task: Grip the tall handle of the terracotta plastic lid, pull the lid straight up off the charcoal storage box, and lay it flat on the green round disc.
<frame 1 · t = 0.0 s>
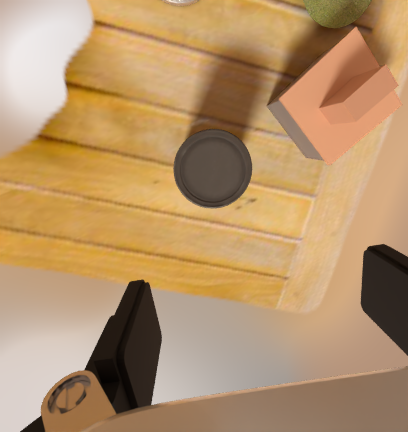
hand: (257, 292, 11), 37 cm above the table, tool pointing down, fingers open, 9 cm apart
lid: (339, 101, 36), point 8 cm above the table, touching storage box
coffee can: (207, 161, 46), on the table
storage box: (314, 108, 43), on the table
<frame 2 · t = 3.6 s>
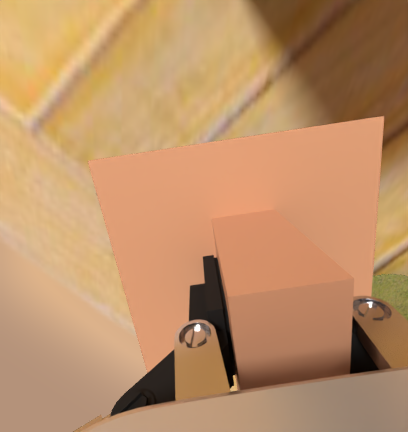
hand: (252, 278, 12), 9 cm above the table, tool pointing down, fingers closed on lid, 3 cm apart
lid: (246, 264, 13), point 8 cm above the table, touching gripper, storage box
green round disc: (360, 313, 24), on the table
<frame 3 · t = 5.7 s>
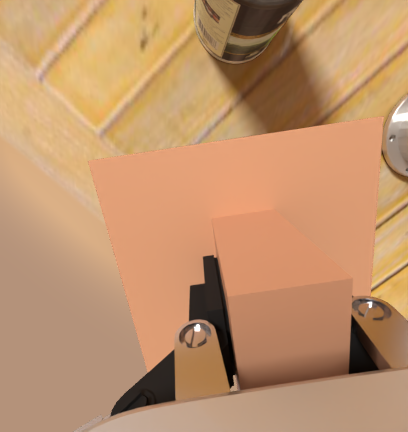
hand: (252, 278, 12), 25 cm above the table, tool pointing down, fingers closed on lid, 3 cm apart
lid: (245, 263, 13), point 23 cm above the table, touching gripper
coffee can: (235, 16, 30), on the table
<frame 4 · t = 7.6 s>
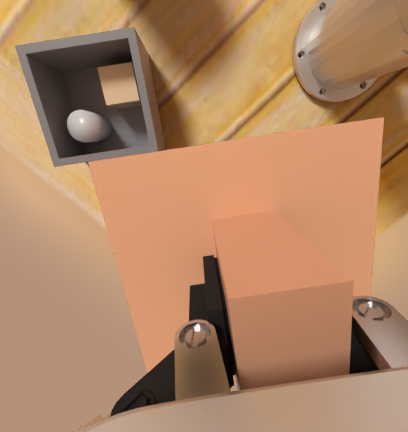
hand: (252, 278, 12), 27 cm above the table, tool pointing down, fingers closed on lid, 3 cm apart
lid: (246, 264, 13), point 25 cm above the table, touching gripper
storage box: (114, 110, 34), on the table
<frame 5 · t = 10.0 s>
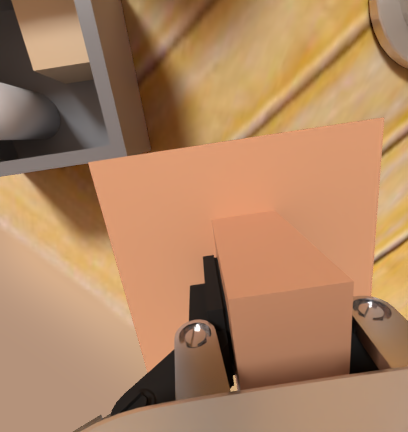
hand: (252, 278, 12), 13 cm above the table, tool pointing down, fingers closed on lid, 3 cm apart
lid: (246, 265, 13), point 11 cm above the table, touching gripper
storage box: (64, 86, 20), on the table
when the fingers open (6 cm above the table, at t = 11.8 s): lid drops 2 cm, resting on green round disc.
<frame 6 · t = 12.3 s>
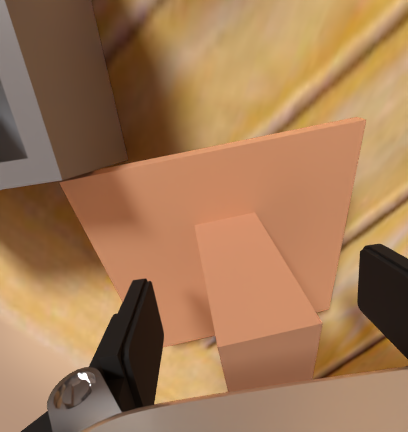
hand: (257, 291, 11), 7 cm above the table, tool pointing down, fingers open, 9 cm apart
lid: (228, 256, 14), point 3 cm above the table, tilted 16°, touching green round disc
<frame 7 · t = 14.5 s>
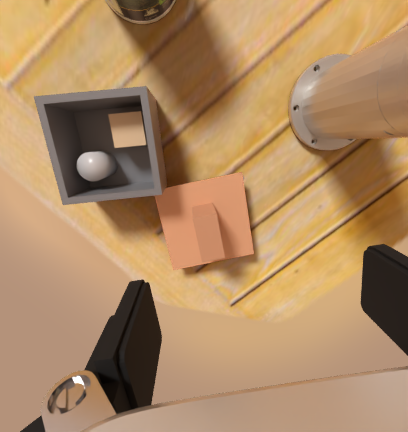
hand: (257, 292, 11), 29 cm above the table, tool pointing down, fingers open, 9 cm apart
lid: (205, 222, 37), point 3 cm above the table, touching green round disc
storage box: (120, 147, 36), on the table
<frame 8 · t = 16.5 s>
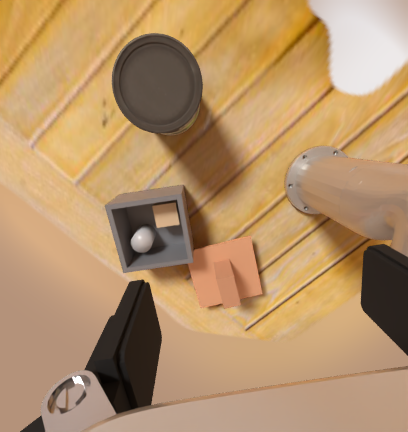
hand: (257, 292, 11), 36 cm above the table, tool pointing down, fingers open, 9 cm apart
lid: (224, 272, 48), point 3 cm above the table, touching green round disc
coffee can: (169, 103, 42), on the table
storage box: (158, 219, 47), on the table
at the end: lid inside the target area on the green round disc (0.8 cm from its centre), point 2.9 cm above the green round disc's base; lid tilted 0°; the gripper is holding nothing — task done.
